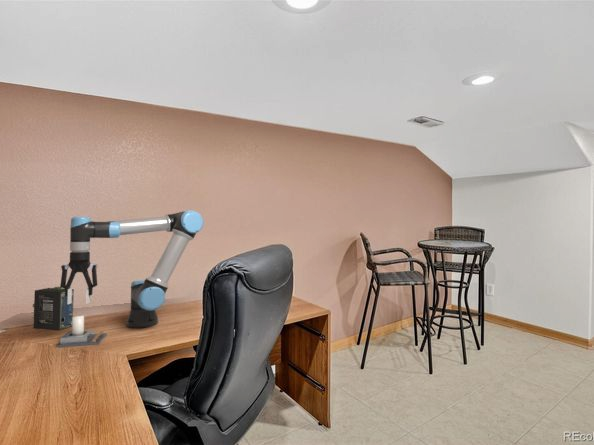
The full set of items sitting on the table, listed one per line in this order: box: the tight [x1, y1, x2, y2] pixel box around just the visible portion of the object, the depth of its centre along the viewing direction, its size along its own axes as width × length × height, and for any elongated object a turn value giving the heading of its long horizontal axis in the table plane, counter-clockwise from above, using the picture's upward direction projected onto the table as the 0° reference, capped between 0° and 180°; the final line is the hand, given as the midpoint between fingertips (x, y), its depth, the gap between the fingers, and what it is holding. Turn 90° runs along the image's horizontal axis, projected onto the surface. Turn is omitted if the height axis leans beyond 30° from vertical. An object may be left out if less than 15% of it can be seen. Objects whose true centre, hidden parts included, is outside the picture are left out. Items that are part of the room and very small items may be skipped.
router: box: [32, 286, 75, 331], centre depth 170 cm, size 8×18×20 cm, turn 78°
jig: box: [55, 329, 108, 348], centre depth 150 cm, size 16×13×4 cm
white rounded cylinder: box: [71, 314, 85, 336], centre depth 150 cm, size 4×4×10 cm
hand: (78, 303), depth 150 cm, fingers open, 6 cm apart
